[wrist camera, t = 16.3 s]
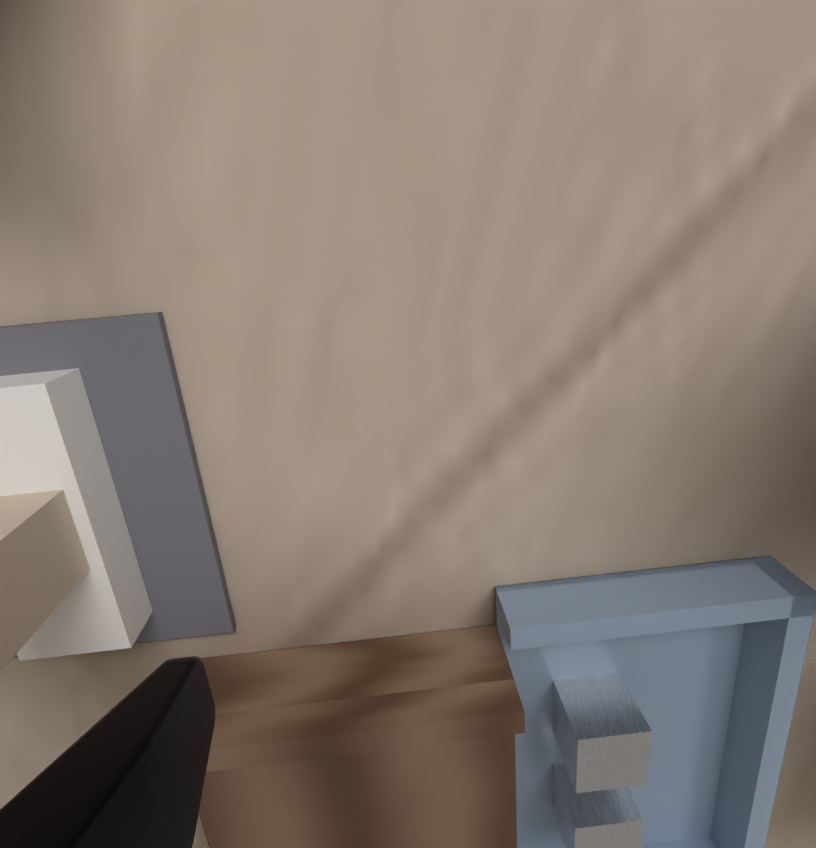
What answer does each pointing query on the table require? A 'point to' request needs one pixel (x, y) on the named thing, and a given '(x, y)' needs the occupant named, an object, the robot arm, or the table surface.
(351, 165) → the table surface
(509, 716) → the groove block
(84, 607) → the plate with square knob
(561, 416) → the table surface
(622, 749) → the chip
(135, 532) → the mat
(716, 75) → the table surface
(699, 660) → the chip tray
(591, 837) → the grey square block
